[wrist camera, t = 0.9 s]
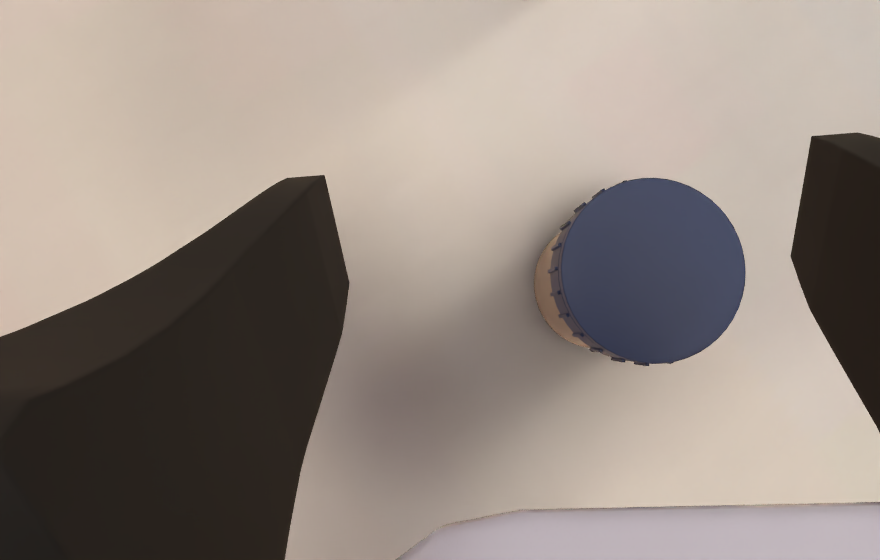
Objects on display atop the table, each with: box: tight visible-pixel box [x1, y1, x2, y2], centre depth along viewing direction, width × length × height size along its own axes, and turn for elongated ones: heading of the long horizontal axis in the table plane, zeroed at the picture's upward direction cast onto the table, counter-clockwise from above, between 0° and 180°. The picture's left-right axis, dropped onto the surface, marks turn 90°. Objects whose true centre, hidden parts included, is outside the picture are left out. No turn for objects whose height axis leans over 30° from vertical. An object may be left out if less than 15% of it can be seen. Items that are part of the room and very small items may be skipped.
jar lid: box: [548, 178, 745, 366], centre depth 21 cm, size 5×5×2 cm
